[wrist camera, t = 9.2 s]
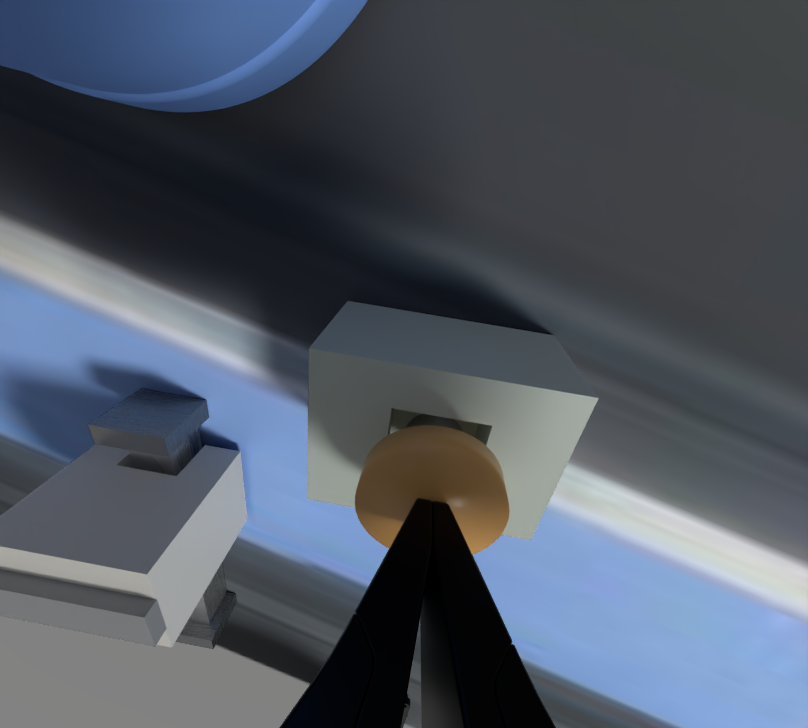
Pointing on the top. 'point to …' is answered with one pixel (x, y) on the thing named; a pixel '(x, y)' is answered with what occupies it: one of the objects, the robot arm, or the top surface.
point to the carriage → (120, 544)
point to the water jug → (170, 46)
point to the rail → (168, 454)
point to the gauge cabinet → (443, 399)
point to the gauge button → (433, 481)
